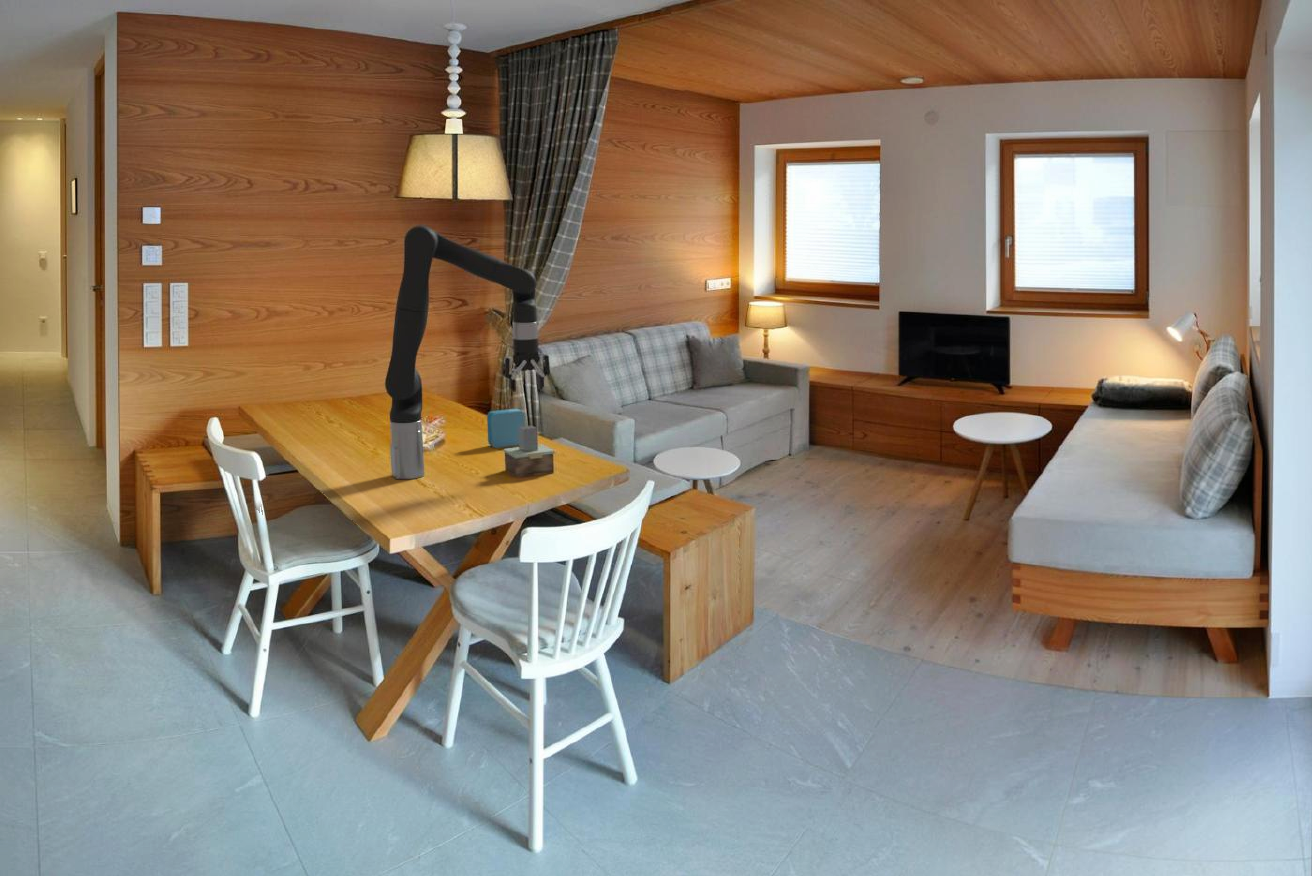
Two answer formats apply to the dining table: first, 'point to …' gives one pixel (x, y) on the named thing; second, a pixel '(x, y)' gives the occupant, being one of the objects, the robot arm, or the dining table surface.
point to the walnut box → (529, 465)
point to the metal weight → (528, 438)
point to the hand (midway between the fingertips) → (526, 390)
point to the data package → (504, 427)
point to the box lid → (531, 454)
